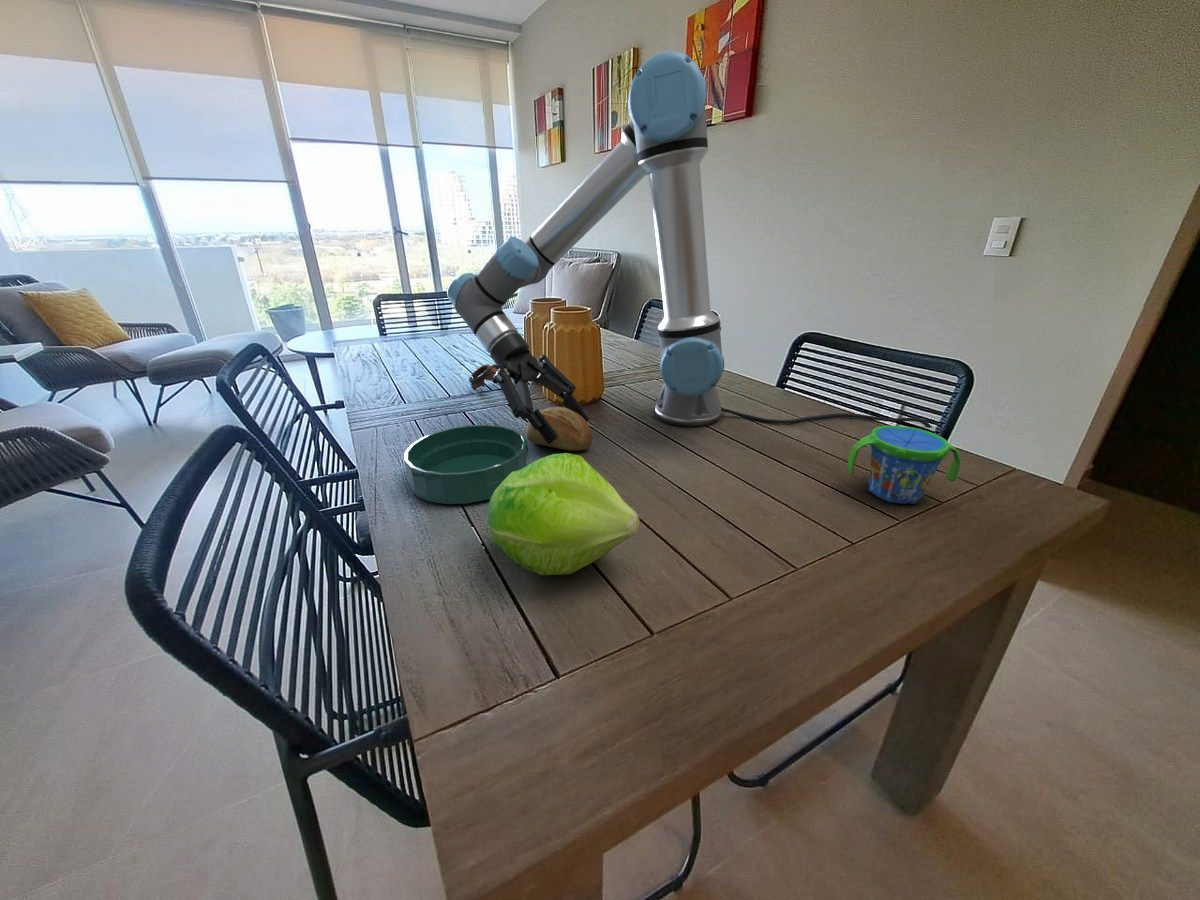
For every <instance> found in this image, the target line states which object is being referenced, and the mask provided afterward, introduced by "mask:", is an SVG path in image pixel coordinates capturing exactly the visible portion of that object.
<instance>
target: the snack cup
mask: <svg viewBox="0 0 1200 900" xmlns="http://www.w3.org/2000/svg"><path fill="white" fill-rule="evenodd" d="M867 446H870V460H869V473H868V474H869V475H868V491H869V492H870V493H872V494H873V495H875V496H876V497H878V498H879V499H881V500H884V501H886V502H888V503H895V504H903V505H904V504H905V505H907V504H912V505H915V504H916V503H917V502H918V501H920V500H921V499H922V498H923V496H924V494H925V492H926V491H927V489H928V487H929V485H930V483H931V481H932V479H933V477H934V475H935V473H936V472H937V470H938V467H939V465H940V463H941V462H942V461H943V460H944V459H945V458H946V457H947V455H948V454H949V451H951V452H952V453H953V460H952V461H951V464H950V465H949V468H948V469H947V471H946V473H945V477H946V479H947V480H948V481H949V482H955V481H956V480H957V478H958V477H959V475H960V471H961V465H962V458H961V454H960V452H959V450H958V449H957V448H955V446H954V445H952V443H951V444H950V443H949V441H948V440H947V439H946V438H944V437H942V436H940V434H939V435H938V434H936V433H934V432H931V431H928V430H924V429H921V428H917V427H912V426H905V425H881V426H877V427H875V428H873V429H872V431H871V432H870V433H869V434H868V435H866V436H863V437H862V438H860V439H859V440H858V441H856V443H855V444H854V445H853V446H852V448H851V449H850V451H849V454H848V456H847V469H848V472H849V473H850V474H851V475H853V474H854V473H855V472H854V471H855V470H854V467H855V465H856V461H857V458H858V455H859V452H860V450H862V449H863V448H865V447H867Z"/></svg>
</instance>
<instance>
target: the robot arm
mask: <svg viewBox="0 0 1200 900" xmlns="http://www.w3.org/2000/svg"><path fill="white" fill-rule="evenodd" d="M706 101H707V83H706V79H705V76H704V75H703V73H702V70H701V68H700V67H699V65H698V64H697V62H696V61H694V59H692V58H691V57H690V56H689V55H687V54H686V53H684V52H681V51H676V50H666V51H665V50H664V51H661V52H658V53H656V54H654V55H652V56H650V57H649V58H648V59H646V61H644V62H643V63H642V64H641V66H640V67H639V68H638V70H637V71H636V73H635V74H634V77H633V79H632V81H631V84H630V87H629V92H628V100H627V107H628V108H627V110H628V115H629V118H630V120H631V121H630V122H629V123H628V124H627V125H626V127H625V128H624V129H623V130H622V131H621V138H620V141H619V142H618V144H616V146H614V148H613V149H612V150H611V151H610V152H609V153H608V154H607V155H606V156H605V157H604V158H603V159H602V160H601V161H600V162H599V163H598V164H597V166H596V167H595V168H594V169H593V170H592V171H591V172H589V174H588V175H587V176H586V177H585V178H584V179H583V180H582V181H581V182H580V183H579V184H578V185H577V187H575V189H574V190H572V192H571V193H570V194H569V195H568V196H567V197H566V198H565V199H563V201H562V202H561V203H560V205H559V206H558V207H556V209H555V210H554V211H553V212H552V213H551V214H550V215H549V216H548V217H546V219H545V220H544V221H543V222H542V223H541V224H540V225H539V226H538V227H537V229H535V231H534V232H533V233H532V234H531V235H530V236H529V237H528V238H527V239H526V240H525V241H524V240H522V239H519V237H517V236H509V237H508V238H507V239H506V240H505V241H504V242H503V243H502V244H500V245H499V246H498V247H497V249H496V251H495V252H494V253H493V254H492V256H491V257H490V258H489V260H488V261H487V262H486V263H485V264H484V266H483V267H482V268H481V269H480V270H479V272H478V273H477V274H474V273H472V272H465V273H462V274H460V275H459V276H458V277H456V278H454V279H453V280H452V281H451V283H449V285H448V287H447V291H446V294H447V298H448V300H449V302H450V303H451V304H452V306H453V308H454V310H455V312H456V313H457V314H458V315H459V316H460V318H462V320H463V322H464V323H465V324H466V325H467V326H468V328H469V329H470V330H471V331H472V333H473V335H474V336H475V337H476V339H477V340H478V342H479V343H480V344H481V345H482V347H483V348H484V350H485V351H486V352H487V353H488V354H489V356H490V358H491V359H492V361H493V362H494V364H496V365H497V366H498V367H499V368H500V369H499V370H498V372H497V373H496V374H495V376H494V379H495V380H496V381H497V382H498V383H497V384H498V385H499V387H500V388H501V391H502V392H503V395H504V398H505V399H506V402H507V404H508V406H509V408H510V410H511V413H512V415H513V417H514V418H516V419H521V420H522V421H525V420H527V422H528V421H529V422H530V424H531V425H532V426H533V428H534V429H535V430H538V431H539V432H540V434H541V435H542V436H543V438H544V439H545V441H546V442H547V443H548V445H549V444H550V443H552V442H553V441H554V440H555V439H556V438H557V437H558V435H557V434H556V433H555V431H554V430H553V429H552V427H551V426H550V425H549V423H548V422H547V421H546V419H545V418H544V416H543V415H542V414H541V412H540V411H539V410H540V409H538V408H537V409H535V410H534V404H533V399H532V396H531V392H530V387H529V383H530V382H534V383H535V384H540V385H541V386H542V387H544V388H545V389H547V390H549V391H550V392H551V393H553V394H554V395H555V396H557V397H559V398H560V399H562V400H563V401H562V402H561V404H562V405H563V407H564V408H567V409H570V410H572V411H574V412H576V413H577V414H579V415H580V416H582V417H583V418H584V419H585V420H586V421H587V422H589V420H590V418H589V417H588V415H587V413H586V412H585V411H584V410H583V409H582V406H581V404H580V402H579V401H578V399H577V398H575V396H574V392H575V390H576V388H577V387H576V385H575V384H574V383H573V382H571V380H569V379H568V378H567V377H566V376H565V374H563V373H562V372H561V371H560V370H559V369H558V368H557V367H556V366H555V365H554V364H553V363H551V360H550V359H549V358H548V357H547V355H545V354H542V355H541V356H540V357H537V358H536V357H535V356H534V355H533V354H531V352H530V351H531V350H530V346H529V344H528V343H527V341H526V339H525V338H524V337H523V335H522V334H520V333H519V332H518V329H517V328H516V326H515V325H514V323H512V321H511V320H510V318H509V316H507V314H506V313H505V312H504V310H503V308H502V307H503V306H504V305H505V304H506V303H507V302H508V301H509V300H510V299H511V298H512V296H513V295H514V294H515V293H516V292H518V290H520V289H521V288H524V287H527V286H530V285H534V284H539V283H540V282H541V281H543V280H544V279H545V278H547V276H548V274H549V272H550V270H552V268H553V267H554V266H555V265H556V264H557V263H558V262H559V261H560V260H561V259H562V258H563V257H564V256H565V255H566V254H567V253H568V252H569V251H570V250H571V249H572V248H573V247H574V246H575V245H576V244H577V243H578V242H580V240H581V239H582V238H583V237H584V236H585V235H586V234H587V233H588V232H590V230H591V229H593V228H594V227H595V226H596V225H597V224H598V223H599V222H600V221H601V220H602V219H603V218H604V217H605V216H607V214H608V213H609V212H610V211H611V210H612V209H613V208H614V207H615V206H616V205H618V203H619V202H620V201H621V200H622V199H623V198H624V197H625V196H626V195H627V194H628V193H630V191H631V190H632V189H634V187H635V186H637V185H638V184H639V182H641V181H642V179H644V177H646V176H648V181H649V190H650V198H651V199H650V200H651V208H652V214H653V215H652V216H653V227H654V235H655V244H656V252H657V262H658V271H659V279H660V280H659V281H660V288H661V296H662V307H663V315H664V316H663V318H662V320H661V321H660V322H659V324H658V325H657V334H658V342H659V351H660V352H659V353H660V360H659V374H660V376H661V378H662V380H663V385H662V387H661V390H660V393H659V396H658V397H655V407H654V408H655V412H654V413H655V416H656V418H657V419H658V420H660V421H661V422H664V423H666V424H670V425H674V426H679V427H702V426H703V427H704V426H708V425H712V424H714V423H717V422H718V421H720V420H721V418H722V412H723V413H726V414H730V415H734V416H737V417H741V418H745V419H748V420H749V419H750V420H753V421H757V422H762V423H769V424H779V425H780V424H783V425H784V424H785V425H787V424H797V423H802V422H807V421H814V420H822V419H831V418H857V419H865V420H872V421H878V422H888V423H900V422H901V423H902V422H916V423H920V424H922V425H923V426H925V427H926V428H929V429H932V428H933V427H932V425H931V424H930V423H929V422H928V421H926V420H924V419H922V418H920V417H896V418H895V417H882V416H875V415H867V414H861V413H846V412H845V413H844V412H841V413H825V414H818V415H811V416H804V417H800V418H792V419H772V418H764V417H759V416H755V415H751V414H746V413H743V412H739V411H735V410H732V409H729V408H725V407H722V405H721V401H720V397H719V394H718V393H719V392H718V389H717V384H718V383H719V381H720V380H721V378H722V376H723V373H724V370H725V359H724V358H725V357H724V356H723V349H722V337H721V336H722V335H721V331H722V326H721V325H722V321H721V318H720V317H719V316H718V315H717V314H716V313H714V312H713V311H712V310H711V298H710V287H709V285H710V284H709V271H708V270H709V269H708V259H707V258H708V257H707V245H706V232H705V231H706V230H705V217H704V205H703V189H702V178H701V177H702V176H701V175H702V174H701V164H702V161H703V159H704V158H705V157H706V155H707V153H708V152H709V143H708V142H709V141H708V127H707V111H706Z"/></svg>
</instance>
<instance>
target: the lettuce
mask: <svg viewBox="0 0 1200 900" xmlns="http://www.w3.org/2000/svg"><path fill="white" fill-rule="evenodd" d="M487 525H488V529H489V532H490V535H491V538H492V541H493V542H494V544H495V545H496V546H497V547H498V548H499V549H500V550H501V551H502V552H503V553H504V554H505V555H506V556H507V558H509V560H510V561H512V563H513V564H514V565H516V566H518V567H521V568H523V569H525V570H528V571H531V572H533V573H535V574H538V575H540V576H555V575H556V576H559V575H571V574H573V573H575V572H578V571H579V570H581V569H583V568H585V567H587V566H589V565H591V564H592V563H594V562H596V561H597V560H599V559H600V558H602V557H603V556H605V555H606V554H608V553H609V552H610V551H612V550H613V549H614V548H615V547H617V546H619V545H621V544H622V543H624V542H625V541H627V540H629V539H630V538H632V537H633V536H634V535H635V534H636V533H637V532H638V530H639V528H640V517H639V515H638V514H637V512H636V511H635V509H633V508H632V507H631V506H630V505H629V504H628V503H627V502H626V501H625V500H624V499H623V498H622V497H621V496H620V494H619V493H618V491H617V490H616V489H615V488H614V487H613V486H612V485H611V484H610V482H609V481H608V480H607V479H606V478H605V477H603V476H602V474H601V473H599V472H598V471H597V470H596V469H594V468H593V466H592V465H590V463H588V462H587V461H586V460H585V459H584V457H582V456H581V455H580V454H574V453H569V452H562V453H552V454H550V455H546V456H544V457H541V458H538V459H536V460H534V461H532V462H531V463H529V465H528V466H526V467H524V468H522V469H521V470H517V471H513V472H512V473H511V474H510V475H509V476H508V477H507V478H506V479H505V480H504V481H503V482H502V483H501V484H500V485H499V486H498V487H497V489H496V490H495V491H494V493H493V495H492V497H491V499H489V504H488V518H487Z"/></svg>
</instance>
